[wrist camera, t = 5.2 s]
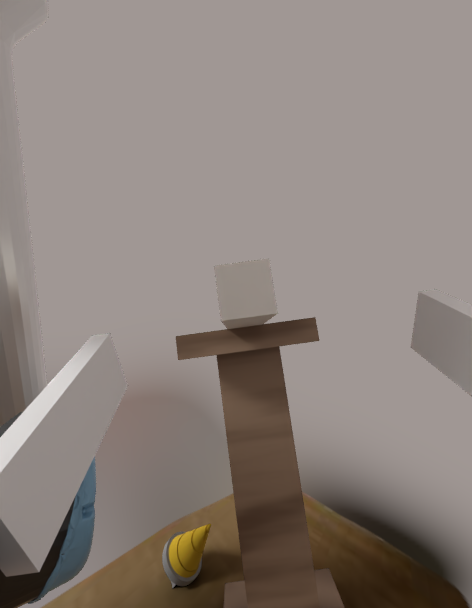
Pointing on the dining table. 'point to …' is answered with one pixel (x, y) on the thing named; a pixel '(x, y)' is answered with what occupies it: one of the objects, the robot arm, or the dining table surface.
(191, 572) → the drill bit
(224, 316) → the bar
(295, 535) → the pedestal
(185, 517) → the dining table surface
